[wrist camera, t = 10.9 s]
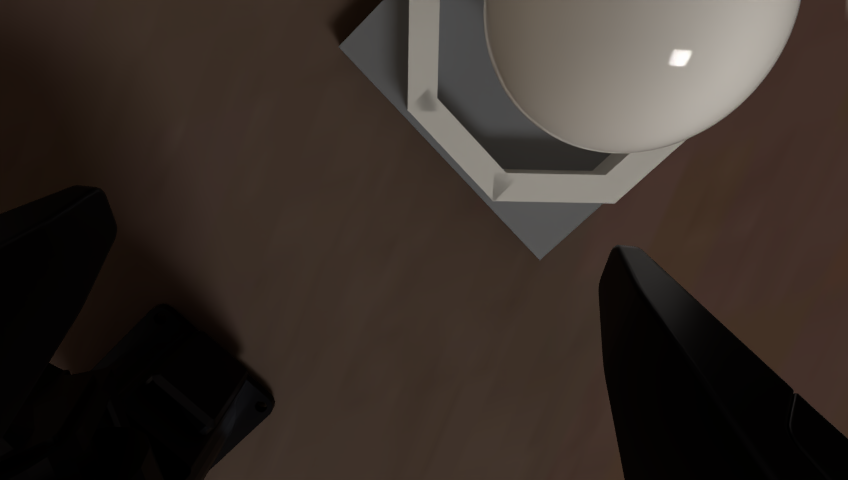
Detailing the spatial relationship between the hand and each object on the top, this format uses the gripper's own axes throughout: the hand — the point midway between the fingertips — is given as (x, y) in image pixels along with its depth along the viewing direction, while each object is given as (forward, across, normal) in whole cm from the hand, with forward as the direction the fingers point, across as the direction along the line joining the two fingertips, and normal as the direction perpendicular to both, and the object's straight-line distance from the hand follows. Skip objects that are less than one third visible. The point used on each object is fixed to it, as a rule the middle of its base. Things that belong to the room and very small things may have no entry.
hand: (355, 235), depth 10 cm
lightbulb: (+13, -4, +1) cm, 13 cm away
